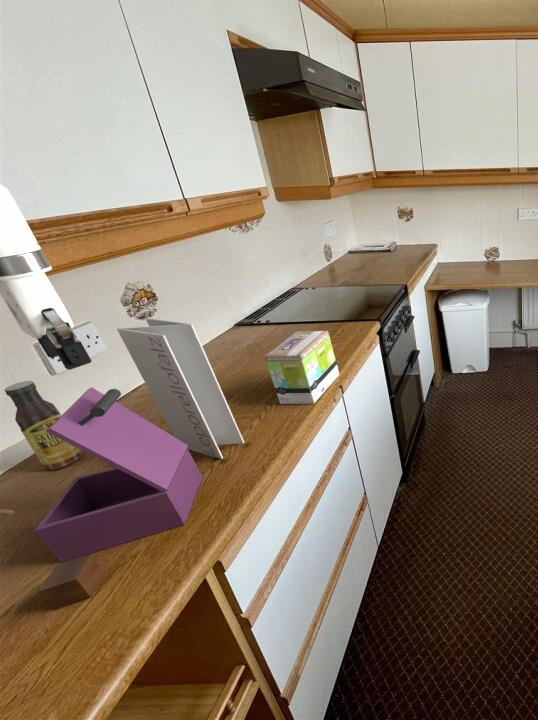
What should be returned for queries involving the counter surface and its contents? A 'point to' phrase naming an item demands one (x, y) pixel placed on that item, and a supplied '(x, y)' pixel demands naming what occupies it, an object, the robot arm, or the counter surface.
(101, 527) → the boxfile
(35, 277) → the robot arm
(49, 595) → the block
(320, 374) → the tea box
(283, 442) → the counter surface
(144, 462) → the file lid
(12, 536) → the counter surface
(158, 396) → the brochure
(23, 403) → the sauce bottle
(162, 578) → the counter surface
